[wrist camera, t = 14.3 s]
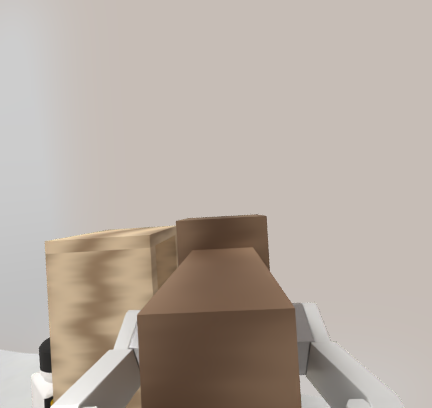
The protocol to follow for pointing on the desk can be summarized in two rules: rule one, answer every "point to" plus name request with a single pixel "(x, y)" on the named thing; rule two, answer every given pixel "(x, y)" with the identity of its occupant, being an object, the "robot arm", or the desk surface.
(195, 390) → the brown wooden bar
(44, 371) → the medicine bottle
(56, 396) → the tall wooden pillar
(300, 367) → the robot arm
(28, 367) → the desk surface
